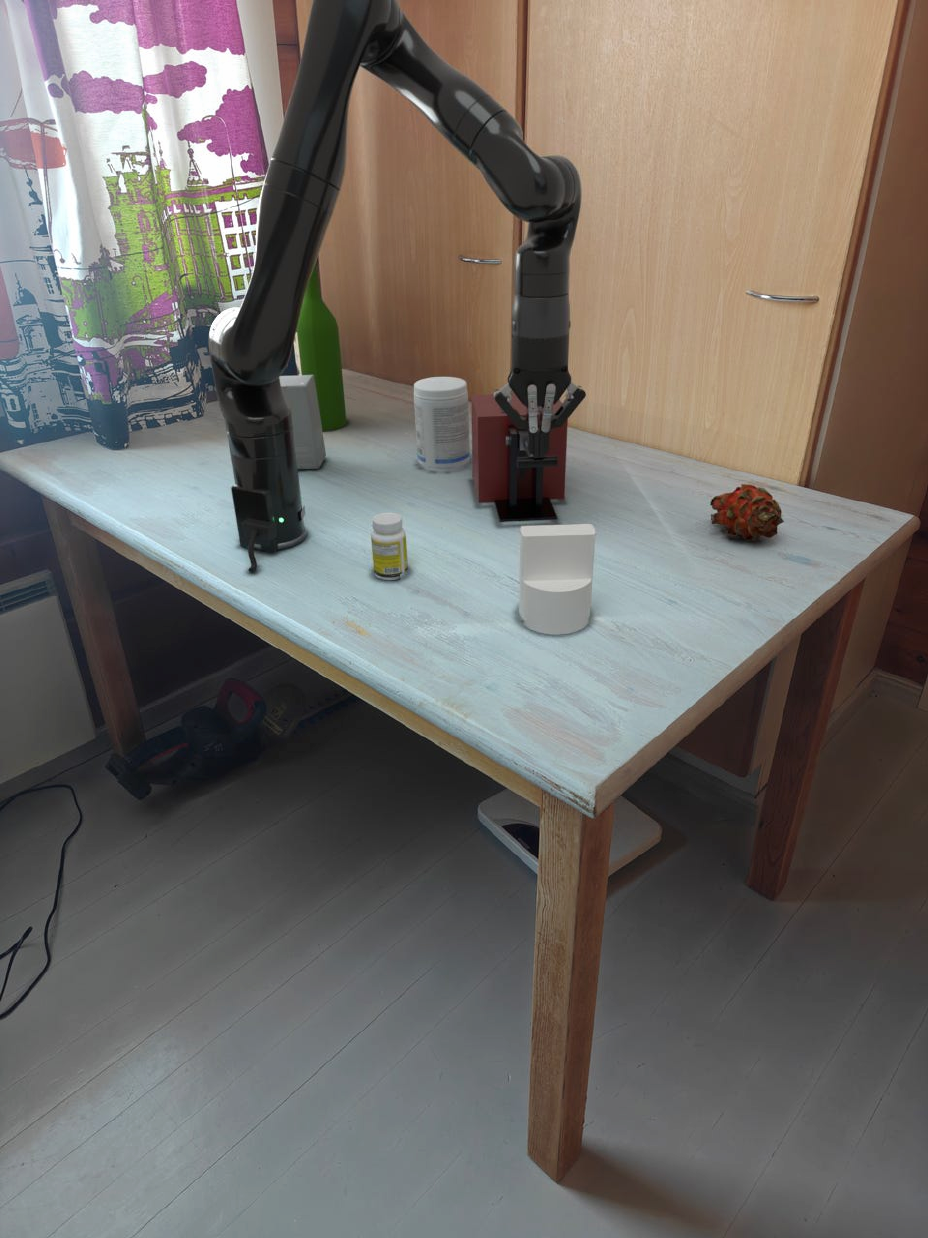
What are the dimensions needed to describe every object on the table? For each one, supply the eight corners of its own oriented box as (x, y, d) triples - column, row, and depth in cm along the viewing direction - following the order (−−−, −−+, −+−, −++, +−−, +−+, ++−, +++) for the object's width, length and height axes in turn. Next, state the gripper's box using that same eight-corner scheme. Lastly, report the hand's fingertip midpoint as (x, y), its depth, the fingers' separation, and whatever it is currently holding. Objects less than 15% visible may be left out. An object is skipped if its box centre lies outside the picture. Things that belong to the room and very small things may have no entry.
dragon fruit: (774, 562, 127) (708, 545, 136) (805, 517, 128) (738, 503, 138) (754, 525, 122) (686, 510, 131) (786, 479, 123) (717, 467, 132)
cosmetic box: (326, 458, 163) (318, 373, 155) (317, 472, 157) (307, 384, 149) (282, 457, 164) (271, 372, 156) (271, 471, 158) (259, 383, 150)
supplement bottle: (390, 562, 125) (387, 508, 121) (415, 571, 123) (412, 516, 119) (366, 574, 122) (362, 519, 118) (391, 584, 120) (387, 528, 115)
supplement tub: (477, 458, 162) (477, 378, 155) (457, 475, 155) (455, 392, 147) (430, 452, 165) (427, 373, 158) (408, 468, 158) (403, 387, 151)
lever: (557, 470, 123) (558, 453, 122) (518, 472, 123) (518, 455, 122) (542, 444, 136) (542, 429, 135) (506, 446, 136) (506, 430, 134)
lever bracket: (557, 524, 136) (560, 438, 129) (499, 526, 135) (499, 440, 128) (547, 499, 145) (549, 417, 138) (492, 501, 144) (492, 419, 137)
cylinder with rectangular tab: (584, 598, 115) (589, 514, 109) (595, 633, 108) (601, 545, 102) (515, 600, 115) (517, 516, 109) (522, 635, 107) (523, 547, 101)
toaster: (564, 503, 143) (568, 412, 135) (478, 507, 142) (477, 416, 134) (552, 476, 153) (555, 391, 146) (472, 480, 152) (471, 394, 145)
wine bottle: (300, 420, 184) (280, 253, 167) (342, 415, 186) (327, 250, 169) (306, 433, 176) (287, 260, 160) (350, 428, 179) (335, 257, 162)
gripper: (585, 321, 118) (579, 445, 127) (487, 324, 117) (488, 449, 126) (596, 333, 111) (589, 463, 120) (493, 337, 111) (493, 467, 119)
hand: (537, 456), depth 123 cm, fingers closed
